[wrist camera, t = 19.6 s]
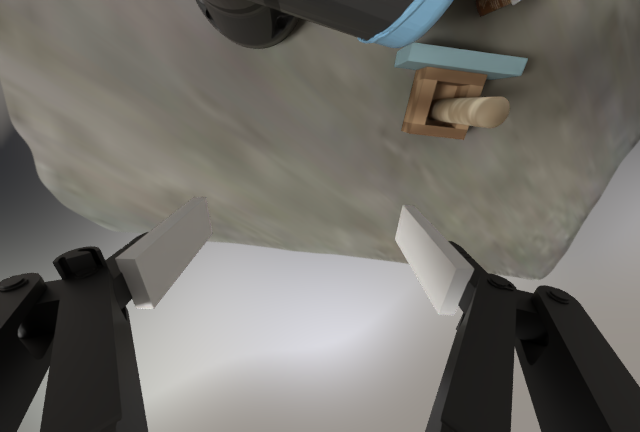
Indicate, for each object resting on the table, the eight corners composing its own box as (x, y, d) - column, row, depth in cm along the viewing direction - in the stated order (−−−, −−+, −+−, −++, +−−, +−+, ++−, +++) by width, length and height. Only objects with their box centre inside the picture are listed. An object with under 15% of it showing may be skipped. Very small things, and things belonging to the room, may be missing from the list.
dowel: (429, 97, 37) (486, 95, 25) (448, 99, 37) (515, 98, 25) (423, 119, 39) (475, 126, 26) (441, 121, 39) (501, 129, 26)
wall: (397, 51, 35) (412, 42, 30) (496, 65, 36) (528, 58, 31) (394, 67, 36) (408, 60, 31) (490, 79, 37) (520, 75, 32)
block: (416, 70, 36) (427, 66, 32) (470, 77, 37) (487, 74, 33) (401, 130, 40) (409, 133, 36) (450, 136, 41) (463, 139, 37)
